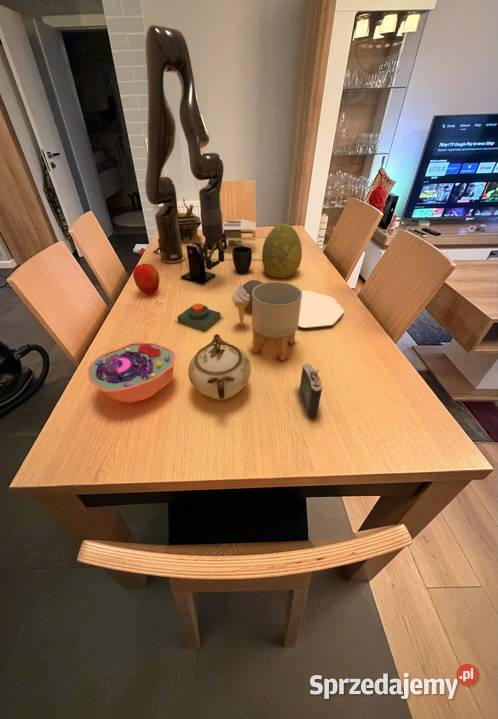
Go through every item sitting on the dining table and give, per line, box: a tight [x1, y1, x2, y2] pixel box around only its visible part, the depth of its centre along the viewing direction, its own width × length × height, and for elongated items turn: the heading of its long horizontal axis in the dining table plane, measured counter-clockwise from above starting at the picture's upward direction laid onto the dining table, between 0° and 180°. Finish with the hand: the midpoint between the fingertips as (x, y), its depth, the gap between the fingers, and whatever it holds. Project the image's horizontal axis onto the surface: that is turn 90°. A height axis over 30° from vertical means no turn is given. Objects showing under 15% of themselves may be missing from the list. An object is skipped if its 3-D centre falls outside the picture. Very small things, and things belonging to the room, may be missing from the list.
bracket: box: [180, 242, 216, 286], centre depth 121 cm, size 11×9×14 cm
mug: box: [232, 245, 253, 275], centre depth 128 cm, size 8×12×10 cm
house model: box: [208, 218, 267, 260], centre depth 147 cm, size 29×30×12 cm
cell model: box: [87, 341, 176, 404], centre depth 72 cm, size 17×20×11 cm
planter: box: [251, 281, 302, 361], centre depth 83 cm, size 13×13×18 cm
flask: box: [298, 363, 323, 419], centre depth 68 cm, size 9×3×11 cm, turn 8°
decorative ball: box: [242, 279, 263, 310], centre depth 103 cm, size 10×10×10 cm
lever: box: [191, 243, 221, 269], centre depth 117 cm, size 12×5×2 cm, turn 60°
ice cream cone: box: [231, 283, 250, 327], centre depth 93 cm, size 6×6×15 cm
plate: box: [298, 290, 345, 329], centre depth 104 cm, size 24×24×2 cm
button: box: [191, 303, 205, 313], centre depth 97 cm, size 4×4×2 cm
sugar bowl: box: [187, 333, 252, 401], centre depth 71 cm, size 20×15×15 cm
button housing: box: [177, 304, 222, 332], centre depth 99 cm, size 11×9×4 cm
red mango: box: [132, 262, 160, 296], centre depth 111 cm, size 9×9×12 cm
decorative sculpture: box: [261, 223, 303, 279], centre depth 122 cm, size 16×16×20 cm
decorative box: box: [158, 198, 202, 245], centre depth 153 cm, size 20×10×20 cm, turn 103°
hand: (215, 265), depth 117 cm, fingers open, 8 cm apart
